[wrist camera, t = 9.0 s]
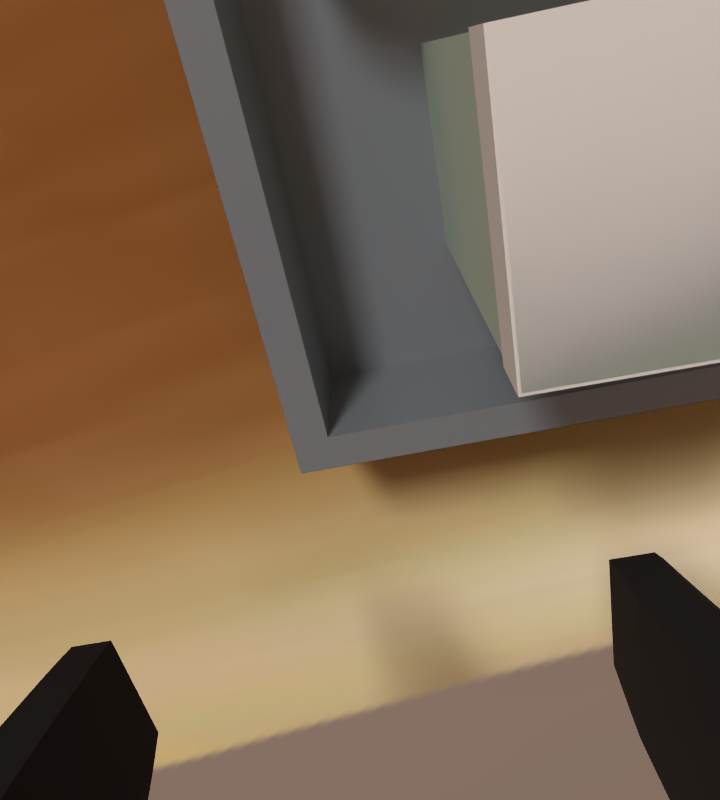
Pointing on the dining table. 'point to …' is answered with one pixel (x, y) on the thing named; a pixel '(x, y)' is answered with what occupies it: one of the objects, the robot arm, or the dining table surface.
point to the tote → (364, 229)
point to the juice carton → (585, 185)
